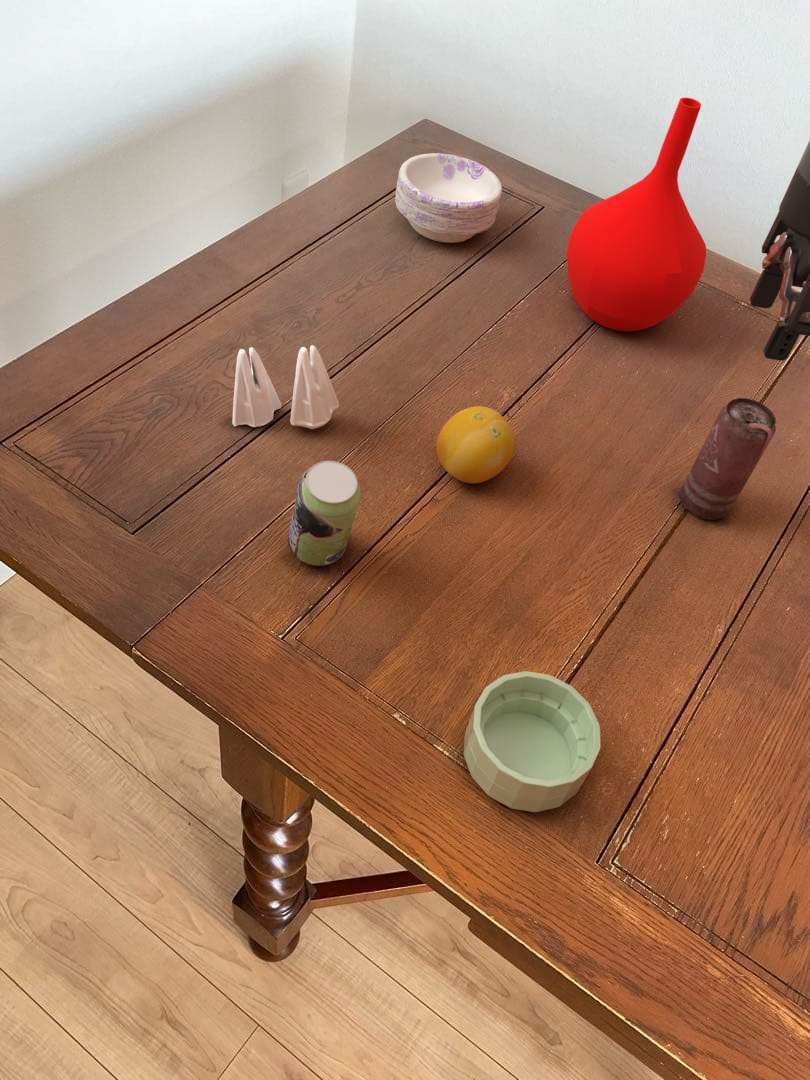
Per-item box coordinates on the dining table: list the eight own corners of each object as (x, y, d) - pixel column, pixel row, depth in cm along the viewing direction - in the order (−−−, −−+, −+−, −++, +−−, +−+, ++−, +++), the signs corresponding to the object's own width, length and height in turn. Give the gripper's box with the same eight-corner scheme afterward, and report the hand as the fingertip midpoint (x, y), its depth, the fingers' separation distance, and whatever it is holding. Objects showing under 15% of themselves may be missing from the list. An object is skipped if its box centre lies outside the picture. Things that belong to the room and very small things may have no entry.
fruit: (476, 508, 108) (490, 456, 102) (419, 471, 111) (430, 419, 105) (518, 468, 113) (534, 417, 107) (462, 434, 116) (475, 382, 110)
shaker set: (337, 414, 115) (346, 339, 107) (335, 438, 112) (344, 363, 104) (236, 402, 114) (236, 326, 106) (231, 426, 111) (231, 350, 103)
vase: (539, 326, 132) (602, 112, 110) (566, 259, 144) (628, 54, 122) (669, 367, 130) (760, 157, 108) (686, 295, 142) (771, 93, 120)
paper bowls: (485, 203, 151) (496, 155, 145) (497, 259, 142) (509, 210, 136) (389, 194, 149) (395, 145, 143) (394, 250, 139) (402, 200, 133)
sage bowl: (581, 713, 92) (598, 682, 88) (584, 823, 85) (602, 795, 81) (466, 694, 92) (477, 662, 88) (458, 803, 84) (470, 774, 80)
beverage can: (325, 518, 104) (334, 437, 95) (363, 564, 101) (377, 484, 92) (274, 540, 101) (279, 458, 92) (312, 588, 98) (321, 508, 89)
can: (711, 531, 111) (761, 443, 100) (667, 498, 113) (712, 408, 103) (740, 508, 114) (792, 420, 103) (697, 476, 116) (744, 387, 106)
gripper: (907, 225, 78) (818, 382, 90) (866, 142, 87) (790, 294, 99) (816, 211, 77) (739, 370, 89) (785, 129, 87) (719, 283, 99)
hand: (766, 330), depth 94 cm, fingers open, 8 cm apart
